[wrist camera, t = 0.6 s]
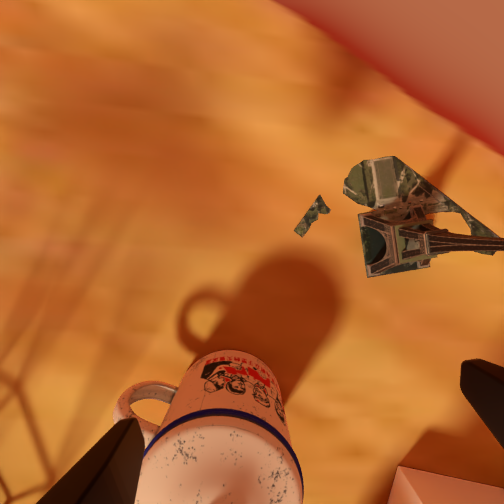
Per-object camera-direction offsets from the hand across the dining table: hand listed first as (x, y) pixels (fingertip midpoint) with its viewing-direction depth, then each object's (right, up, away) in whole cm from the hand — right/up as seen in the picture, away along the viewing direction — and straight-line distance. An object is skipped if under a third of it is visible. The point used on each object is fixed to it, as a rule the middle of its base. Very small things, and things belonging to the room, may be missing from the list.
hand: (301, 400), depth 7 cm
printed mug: (-5, -8, +16) cm, 18 cm away
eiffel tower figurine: (+11, +5, +16) cm, 20 cm away
